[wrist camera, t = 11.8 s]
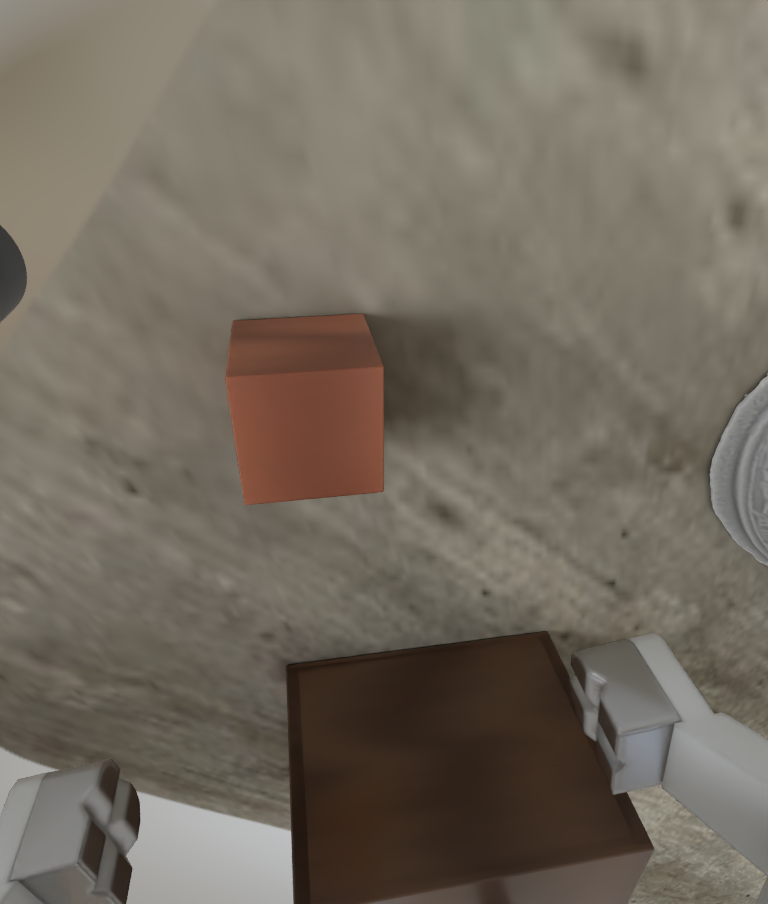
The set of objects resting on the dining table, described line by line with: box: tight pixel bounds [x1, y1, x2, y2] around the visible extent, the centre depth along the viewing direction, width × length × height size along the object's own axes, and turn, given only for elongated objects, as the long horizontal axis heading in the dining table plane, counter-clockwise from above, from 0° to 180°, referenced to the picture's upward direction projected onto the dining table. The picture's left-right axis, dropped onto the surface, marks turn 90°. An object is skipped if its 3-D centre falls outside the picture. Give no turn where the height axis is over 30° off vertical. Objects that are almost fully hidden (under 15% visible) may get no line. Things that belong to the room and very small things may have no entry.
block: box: [225, 314, 384, 505], centre depth 21 cm, size 5×5×5 cm
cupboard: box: [286, 632, 654, 904], centre depth 30 cm, size 14×11×11 cm
